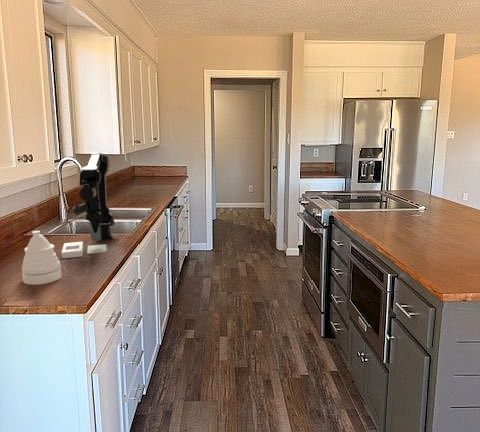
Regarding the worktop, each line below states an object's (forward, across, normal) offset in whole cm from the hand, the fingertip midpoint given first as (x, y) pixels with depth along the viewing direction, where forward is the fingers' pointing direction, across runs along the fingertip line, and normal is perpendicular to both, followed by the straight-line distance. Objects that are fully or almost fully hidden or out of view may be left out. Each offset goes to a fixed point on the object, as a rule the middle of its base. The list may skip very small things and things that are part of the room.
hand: (95, 231), depth 196 cm
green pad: (+8, 0, 0) cm, 8 cm away
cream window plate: (+8, +1, -10) cm, 13 cm away
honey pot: (+8, +33, -19) cm, 39 cm away
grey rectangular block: (+4, 0, 0) cm, 4 cm away
